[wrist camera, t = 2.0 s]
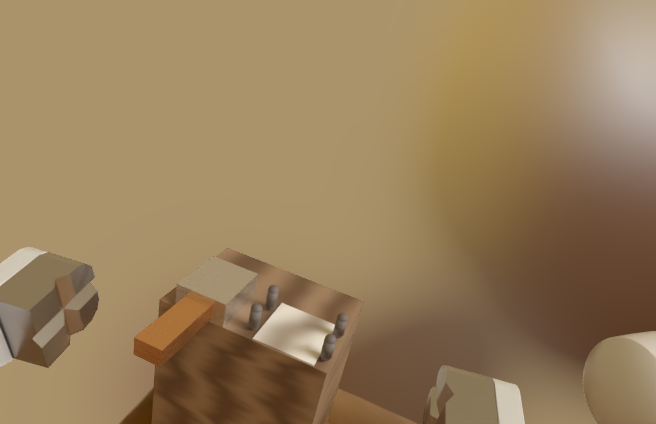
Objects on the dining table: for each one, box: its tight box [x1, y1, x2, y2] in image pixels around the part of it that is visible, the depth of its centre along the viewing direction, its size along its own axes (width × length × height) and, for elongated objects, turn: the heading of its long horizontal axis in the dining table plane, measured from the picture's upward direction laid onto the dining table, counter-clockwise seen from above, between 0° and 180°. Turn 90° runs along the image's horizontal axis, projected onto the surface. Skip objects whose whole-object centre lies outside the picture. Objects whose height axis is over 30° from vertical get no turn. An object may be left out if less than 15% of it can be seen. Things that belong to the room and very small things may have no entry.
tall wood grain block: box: [151, 248, 364, 424], centre depth 58 cm, size 20×14×29 cm
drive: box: [134, 256, 258, 367], centre depth 47 cm, size 6×15×3 cm, turn 160°
